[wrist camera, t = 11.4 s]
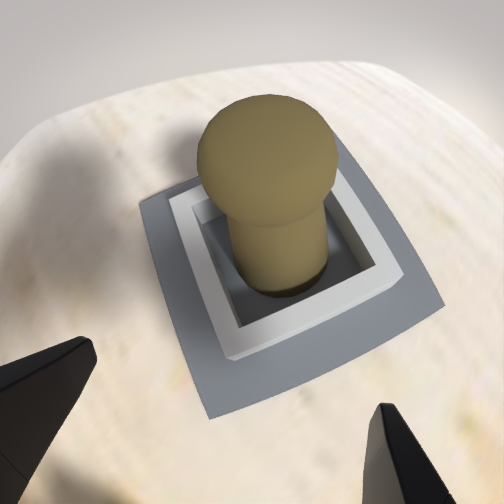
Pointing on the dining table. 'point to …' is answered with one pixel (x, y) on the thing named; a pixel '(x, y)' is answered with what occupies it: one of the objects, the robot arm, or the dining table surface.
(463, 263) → the dining table surface
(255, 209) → the cork
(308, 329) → the socket plate
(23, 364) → the robot arm
